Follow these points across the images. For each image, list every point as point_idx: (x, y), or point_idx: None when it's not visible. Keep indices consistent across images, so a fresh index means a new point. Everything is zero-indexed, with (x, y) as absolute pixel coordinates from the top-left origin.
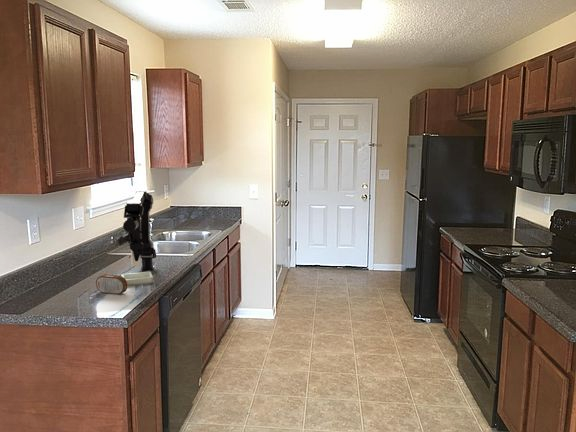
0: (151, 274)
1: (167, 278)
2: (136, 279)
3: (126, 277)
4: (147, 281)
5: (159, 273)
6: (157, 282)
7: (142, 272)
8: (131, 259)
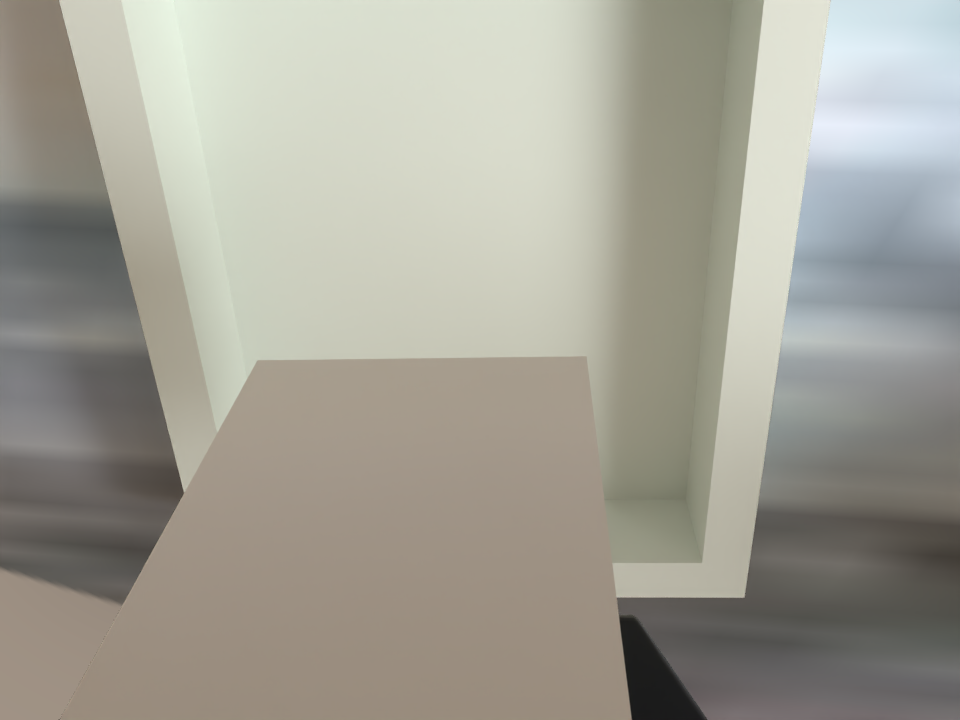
0: None
1: None
2: (134, 288)
3: (736, 27)
4: None
5: (927, 652)
6: None
7: (743, 449)
8: (598, 489)
